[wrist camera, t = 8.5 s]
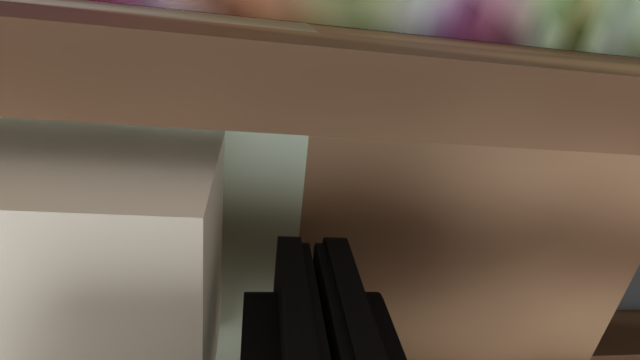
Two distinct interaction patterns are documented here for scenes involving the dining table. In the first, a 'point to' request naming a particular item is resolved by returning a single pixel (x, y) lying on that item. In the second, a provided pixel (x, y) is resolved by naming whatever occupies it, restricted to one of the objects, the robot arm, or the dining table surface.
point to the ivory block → (109, 241)
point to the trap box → (380, 162)
